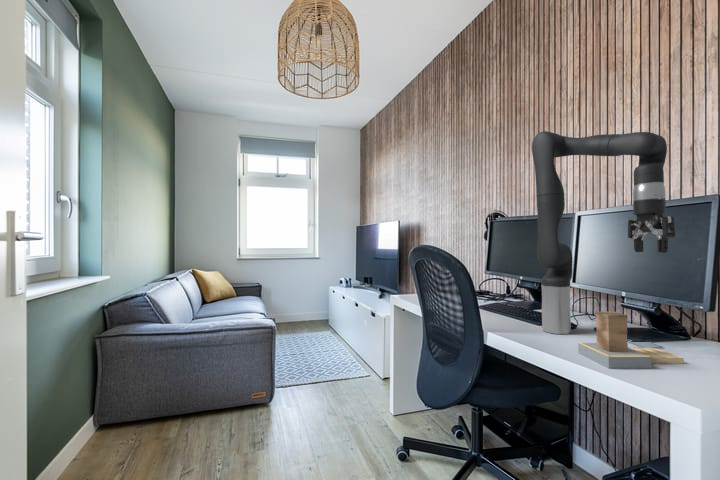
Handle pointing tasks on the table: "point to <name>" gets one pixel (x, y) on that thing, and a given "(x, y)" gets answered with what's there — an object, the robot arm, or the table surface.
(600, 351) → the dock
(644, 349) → the pallet
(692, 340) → the table surface
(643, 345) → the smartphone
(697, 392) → the table surface
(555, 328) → the robot arm
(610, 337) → the wooden block
